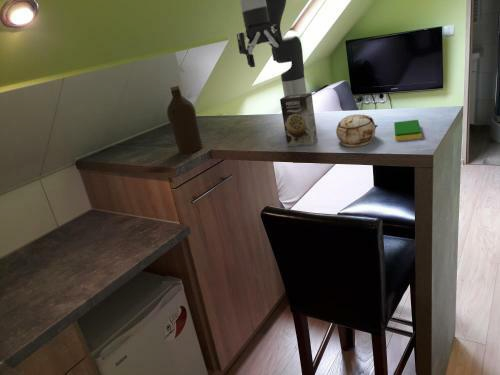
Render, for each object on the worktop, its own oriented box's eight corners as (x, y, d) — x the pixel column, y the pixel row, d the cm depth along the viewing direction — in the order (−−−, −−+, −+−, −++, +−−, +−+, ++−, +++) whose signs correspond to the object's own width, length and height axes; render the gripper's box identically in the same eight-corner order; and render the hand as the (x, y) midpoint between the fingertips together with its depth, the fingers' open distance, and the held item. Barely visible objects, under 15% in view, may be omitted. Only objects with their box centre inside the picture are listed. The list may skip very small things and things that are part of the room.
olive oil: (205, 150, 150) (188, 84, 141) (178, 156, 149) (159, 90, 140) (203, 144, 160) (188, 82, 151) (177, 150, 159) (160, 88, 150)
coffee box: (286, 146, 133) (278, 99, 127) (293, 140, 138) (286, 95, 132) (312, 145, 128) (305, 96, 122) (318, 139, 133) (311, 91, 127)
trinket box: (352, 150, 116) (350, 124, 113) (325, 142, 129) (322, 118, 126) (389, 138, 120) (387, 113, 117) (359, 131, 133) (357, 108, 130)
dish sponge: (395, 142, 116) (394, 134, 115) (394, 129, 128) (394, 122, 127) (421, 139, 114) (421, 131, 113) (418, 126, 126) (418, 119, 125)
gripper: (268, 5, 122) (277, 59, 128) (227, 14, 117) (239, 69, 123) (280, 1, 116) (290, 58, 122) (238, 10, 111) (250, 69, 117)
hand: (264, 63), depth 122 cm, fingers open, 8 cm apart
